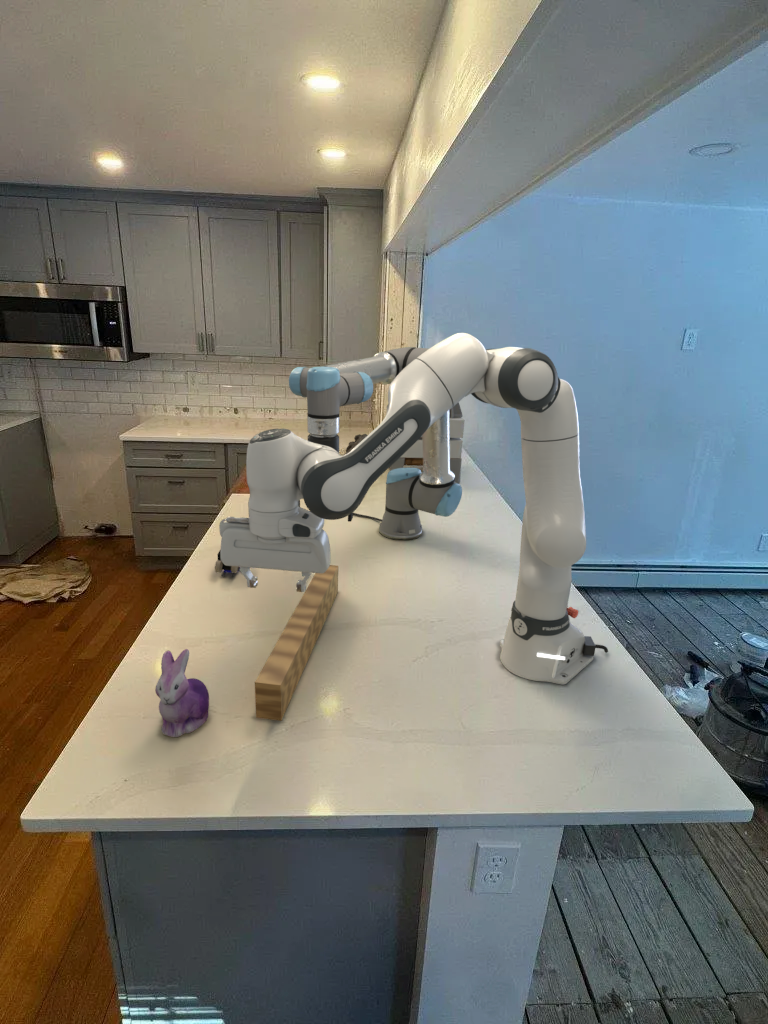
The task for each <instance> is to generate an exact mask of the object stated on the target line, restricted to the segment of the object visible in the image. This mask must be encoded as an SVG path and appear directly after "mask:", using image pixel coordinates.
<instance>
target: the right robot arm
mask: <svg viewBox="0 0 768 1024" xmlns="http://www.w3.org/2000/svg"><path fill="white" fill-rule="evenodd" d="M557 371H558V370H557V368H556V366H555V363H554V362H553V361H552V359H551V358H550V357H549V356H548V355H547V354H545V353H544V352H542V351H540V350H537V349H535V348H532V347H525V348H524V347H517V346H505V347H502V348H485V346H484V345H483V343H482V342H481V341H480V340H479V339H477V338H476V337H475V336H473V335H472V334H470V333H466V332H457V333H454V334H452V335H450V336H448V337H445V339H443V340H441V341H439V342H437V343H435V345H433V346H431V347H429V349H428V350H427V351H425V352H424V353H422V354H421V355H420V356H419V357H417V358H416V359H415V360H413V361H412V362H411V363H410V364H408V365H407V366H406V367H405V368H404V369H403V370H402V371H401V372H400V373H399V374H398V375H397V376H396V377H395V379H394V380H393V381H392V382H391V384H389V387H388V391H387V402H388V404H389V405H388V404H387V405H388V411H387V410H386V412H387V414H386V413H385V414H386V415H385V416H384V418H383V420H381V422H380V423H379V424H378V426H376V427H375V428H374V429H373V430H372V431H371V432H370V433H368V434H367V435H368V436H367V437H366V438H364V439H363V440H362V441H361V442H360V443H359V444H358V445H357V446H356V447H355V448H353V449H352V450H351V451H350V452H349V453H347V454H340V452H339V453H338V452H337V451H336V450H335V449H333V448H331V447H329V446H325V445H320V444H316V443H313V442H310V441H308V439H305V438H303V437H300V436H299V435H297V434H295V433H294V432H293V431H292V430H291V429H289V428H288V429H287V428H271V429H266V430H263V431H260V432H259V433H257V434H255V435H253V437H252V438H250V440H249V442H248V443H247V448H246V460H245V468H246V469H245V470H246V472H245V473H246V484H247V486H248V490H249V498H248V503H247V507H248V508H247V510H248V517H244V516H243V517H241V516H240V517H237V516H236V517H235V516H227V517H225V518H223V519H221V520H220V522H219V528H218V529H219V536H220V537H221V540H220V549H221V550H220V549H219V551H220V558H221V561H222V562H223V564H224V565H226V566H238V567H239V571H240V573H241V575H242V576H243V577H244V579H245V580H246V586H247V588H249V589H256V588H257V587H258V585H259V581H258V579H259V578H258V575H254V574H253V572H252V571H251V568H252V569H264V570H273V571H274V570H276V571H286V572H299V573H300V572H301V577H303V579H298V580H297V582H296V583H295V587H296V589H295V590H296V593H297V592H298V593H305V591H306V589H307V582H308V580H309V578H310V577H311V575H312V574H315V573H324V572H325V571H326V570H327V569H328V568H329V566H330V565H331V563H332V555H331V544H330V538H329V535H328V534H327V532H326V531H325V529H323V528H324V526H325V520H329V521H334V520H335V521H336V520H340V519H344V518H346V517H348V515H350V514H351V513H355V511H356V510H357V509H358V508H359V506H360V505H361V504H362V502H363V500H364V499H365V497H366V495H367V493H368V492H369V490H370V488H371V487H372V486H373V484H374V483H375V482H376V481H377V480H378V479H379V478H380V477H381V476H382V475H383V474H385V472H386V471H387V470H388V469H390V466H391V465H392V464H393V463H395V462H396V461H397V460H398V459H399V458H400V457H401V456H402V455H403V454H404V453H405V452H406V451H407V450H408V449H409V448H410V447H411V446H412V445H413V444H414V443H415V442H416V441H417V440H418V439H419V438H420V437H421V436H422V435H423V434H424V433H425V432H426V430H427V429H428V428H429V427H430V426H431V425H432V424H433V423H434V422H436V421H437V420H438V419H439V418H440V417H441V416H443V415H444V414H445V413H446V412H447V411H449V410H450V409H451V408H452V407H454V406H455V405H456V404H457V403H458V402H459V403H460V402H461V401H463V399H465V398H466V397H468V396H470V395H472V396H473V398H475V399H476V400H477V401H479V402H481V403H483V404H489V405H491V406H494V407H498V408H502V409H508V408H509V409H515V410H516V412H517V413H518V416H519V419H520V420H519V421H520V444H521V459H522V460H521V463H522V466H521V467H522V478H523V488H524V499H525V506H524V509H523V514H522V523H521V536H520V548H519V549H520V550H519V567H518V577H517V584H516V592H515V599H514V600H513V602H512V606H511V610H510V611H511V613H510V616H509V618H508V621H507V626H506V630H505V633H504V637H503V638H502V639H501V640H500V643H499V645H500V649H501V651H500V655H499V660H500V662H501V664H502V665H503V667H505V669H506V670H507V671H508V672H510V673H512V674H514V675H516V676H518V677H520V678H522V679H525V680H530V681H535V682H549V683H553V684H557V685H563V686H564V685H567V684H568V683H569V682H571V680H572V679H574V678H575V677H576V676H577V675H578V674H579V673H580V672H581V671H582V670H584V669H585V668H586V667H587V666H588V665H590V663H592V662H593V661H594V657H595V653H596V649H600V650H603V651H604V652H605V654H607V653H608V652H609V648H608V647H607V646H606V645H603V644H596V643H595V641H594V640H593V638H592V636H587V635H585V634H584V633H583V631H582V630H581V629H580V628H578V627H577V626H576V625H574V624H573V623H572V622H571V621H570V618H572V619H576V618H577V617H578V615H579V610H578V609H576V608H574V607H572V606H570V607H568V605H569V599H570V593H571V587H572V580H573V576H572V566H573V565H575V564H576V563H578V562H579V561H580V560H581V559H582V557H583V556H584V555H585V552H586V551H587V550H586V549H587V530H586V528H587V527H586V516H585V506H584V496H583V488H582V479H581V465H580V461H581V459H580V427H579V426H580V423H579V415H578V406H577V401H576V397H575V392H574V389H573V387H572V385H571V384H570V383H569V382H568V381H567V380H565V379H562V378H560V377H559V376H558V372H557ZM299 500H300V501H301V500H303V502H304V504H305V507H306V508H307V509H306V508H303V507H302V506H300V507H299V505H298V501H299ZM569 616H570V617H569Z"/></svg>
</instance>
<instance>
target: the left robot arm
mask: <svg viewBox="0 0 768 1024" xmlns="http://www.w3.org/2000/svg"><path fill="white" fill-rule="evenodd" d="M428 349H430V347H415V346H406V347H399V348H393V349H390V350H384V351H379V352H377V353H376V354H374V355H373V356H372V357H365V358H360V359H354V360H348V361H343V362H338V363H332V364H326V365H321V366H313V367H308V366H297V367H295V368H293V370H291V372H290V374H289V376H288V387H289V390H290V391H291V393H292V394H293V395H295V396H298V397H301V398H304V399H305V398H306V404H307V405H306V406H307V407H306V408H307V413H306V414H307V416H306V417H307V418H306V420H307V433H308V435H307V441H310V442H313V443H316V444H320V445H325V446H329V447H331V448H333V449H335V450H336V451H337V452H338V453H339V454H340V436H339V433H340V408H341V407H346V406H351V405H359V404H361V403H363V402H367V401H369V400H370V399H371V397H372V396H373V394H374V385H375V384H380V385H384V386H386V385H390V384H391V382H392V381H393V380H394V379H395V377H396V376H397V375H398V374H399V373H400V372H401V371H402V370H403V369H404V368H405V367H406V366H407V365H408V364H410V363H411V362H412V361H413V360H415V359H416V358H417V357H419V356H420V355H421V354H422V353H424V352H425V351H427V350H428ZM422 439H423V466H422V467H423V471H422V470H421V469H420V468H418V467H404V468H398V469H394V470H391V471H390V470H388V472H387V475H386V480H385V504H384V505H385V507H384V508H385V509H384V513H383V515H382V519H381V518H378V517H375V516H370V515H365V514H361V513H356V512H353V513H351V514H350V515H348V516H347V522H352V520H353V518H354V516H356V517H361V518H365V519H366V518H367V519H371V520H374V521H378V522H379V526H378V533H379V534H380V535H381V536H382V537H385V538H387V539H389V540H395V541H410V540H415V539H418V538H420V537H421V536H422V535H423V525H422V524H421V518H420V515H419V511H421V512H425V513H429V514H431V515H432V514H433V515H435V516H440V517H450V516H452V515H453V514H454V513H455V512H456V510H457V509H458V507H459V504H460V503H461V500H462V495H463V487H462V485H461V484H459V483H455V475H454V473H453V472H452V471H450V411H447V412H446V413H445V414H444V415H443V416H441V417H440V418H439V419H438V420H437V421H436V422H434V423H433V424H432V425H431V426H430V427H429V428H428V429H427V430H426V432H425V433H424V434H423V435H422ZM298 505H299V507H301V499H300V500H299V501H298Z"/></svg>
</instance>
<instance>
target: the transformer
mask: <svg viewBox="0 0 768 1024" xmlns="http://www.w3.org/2000/svg"><path fill="white" fill-rule="evenodd" d="M388 405H389V404H387V405H386V413H385V414H387V411H388ZM449 411H450V471H452V472H453V473H454V475H455V483H458V484H459V483H461V472H462V461H463V460H462V453H463V442H464V441H463V440H462V439H463V438H464V431H465V430H464V429H465V419H464V418H463V411H462V408H461V405H460V401H459V402H458V403H457V404H456V405H455V406H454V407H452V408H451V409H450V410H449ZM405 466H406V467H407V466H411V467H412V466H413V467H415V466H416V467H417V466H418V467H423V439H422V436H421V437H420V438H419V439H418V440H417V441H416V442H415V443H414V444H413V445H412V446H411V447H410V448H409V449H408V450H407V451H406V452H405V453H404V454H403V455H402V456H401V457H400V458H399V459H398V460H397V461H396V462H395V463H393V464H392V465H391V466H390V467H389V471H391V470H394V469H398V468H405Z"/></svg>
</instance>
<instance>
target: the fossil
mask: <svg viewBox="0 0 768 1024" xmlns="http://www.w3.org/2000/svg"><path fill="white" fill-rule="evenodd" d="M368 435H369V434H367V433H363V434H361V433H360V434H356V435H355V436H354V441H349V442H348V445H347V447H346V449H345V454H347V453H349V452H350V451H351V450H352V449H353V448H355V447H356V446H357V445H358V444H359V443H360V442H361V441H362V440H363V439H364V438H366V437H367V436H368ZM345 454H344V455H345Z"/></svg>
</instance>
